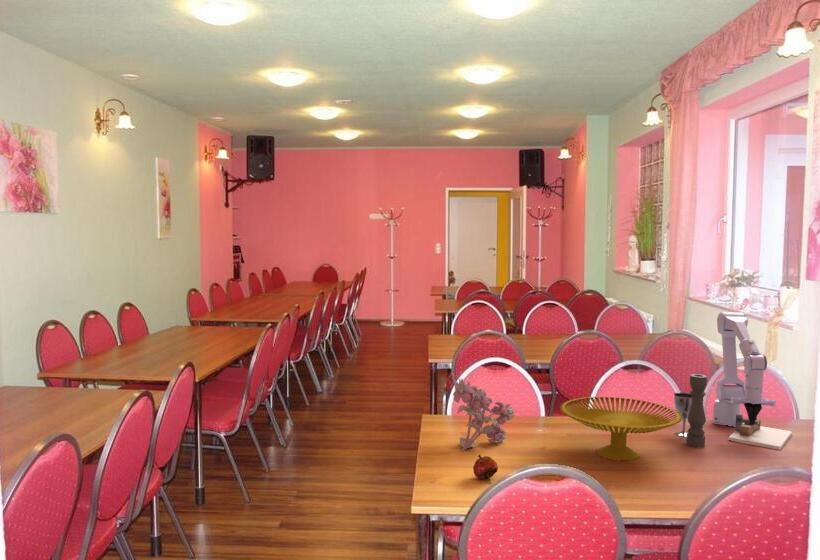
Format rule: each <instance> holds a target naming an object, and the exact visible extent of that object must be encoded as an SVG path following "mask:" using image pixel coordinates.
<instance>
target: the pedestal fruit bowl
mask: <svg viewBox="0 0 820 560" xmlns="http://www.w3.org/2000/svg"><path fill="white" fill-rule="evenodd" d="M609 398H610V399H609ZM604 399H605V400H604ZM600 401H601V402H600ZM605 401H606V402H605ZM596 402H597V403H596ZM615 402H616V403H615ZM635 402H636V403H635ZM588 403H589V404H588ZM610 403H611V404H610ZM640 403H641V404H640ZM593 404H594V405H593ZM606 404H607V405H606ZM615 404H616V407H615ZM624 404H625V407H624ZM629 404H630V406H629ZM639 404H640V405H639ZM645 404H646V405H645ZM644 405H645V406H644ZM633 407H634V408H633ZM658 407H659V408H658ZM628 408H629V409H628ZM559 410H560V411H561V413H563V414H564V415H565V416H567V417H569V418H571V419H573V420H574V421H575V422H576V421H577V422H579V424H582V425H584V426H586V427H590V428H591V429H595V430H601V432H602V431H603V432H604V431H605V432H609V433H610V444H608V445H606V446H603V447H600V448H598V449H597V450H596V453H597V454H598V455H599V456H600V457H602V458H604V459H609V460H612V461H620V460H630V461H634V459H635V460H638V459H639V458H640V454H639V452H637V451H635V450H634V449H633V448H630V447H629V446H627V437H628V435H627V434H629V433H630V434H635V435H637V434H647V433H653V432H657V431H659V430H663V429H666V428H670V427H673V426H675V425H677V424H680V422H682V417H683V416H682V415H680V414H681V413H678V412H677V411H676V409H674V408H672V407H670V406H667V405H663V404H661V403H660V404H659V403H657V402H653V401H648V400H644V399H637V398H630V397H629V398H627V397H621V396H620V397H617V396H588V397H587V396H586V397H579V398H571V399H569V400H565V401H564V402H563V403H561V404H560V405H559ZM637 458H638V459H637Z"/></svg>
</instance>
